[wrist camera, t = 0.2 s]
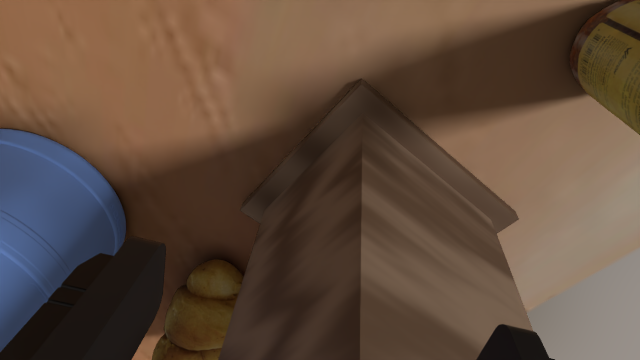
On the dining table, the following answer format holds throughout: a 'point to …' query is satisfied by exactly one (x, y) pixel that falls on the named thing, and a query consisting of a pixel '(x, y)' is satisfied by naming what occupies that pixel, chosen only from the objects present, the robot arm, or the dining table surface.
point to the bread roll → (200, 313)
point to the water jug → (48, 222)
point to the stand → (372, 248)
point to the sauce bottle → (611, 60)
